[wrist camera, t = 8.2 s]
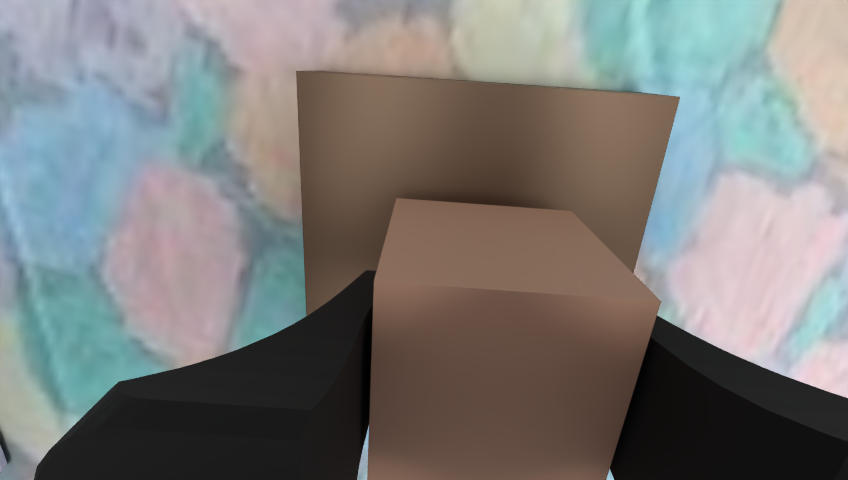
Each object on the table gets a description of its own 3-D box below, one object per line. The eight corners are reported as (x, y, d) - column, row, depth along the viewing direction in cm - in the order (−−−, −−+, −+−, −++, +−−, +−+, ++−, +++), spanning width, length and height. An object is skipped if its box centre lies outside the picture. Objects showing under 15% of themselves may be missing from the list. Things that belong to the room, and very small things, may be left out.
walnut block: (327, 337, 19) (309, 383, 16) (321, 70, 15) (296, 70, 12) (575, 352, 19) (599, 400, 16) (634, 91, 15) (680, 97, 12)
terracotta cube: (389, 345, 14) (367, 489, 9) (396, 197, 12) (373, 281, 7) (541, 356, 14) (598, 504, 9) (571, 210, 12) (660, 301, 7)
